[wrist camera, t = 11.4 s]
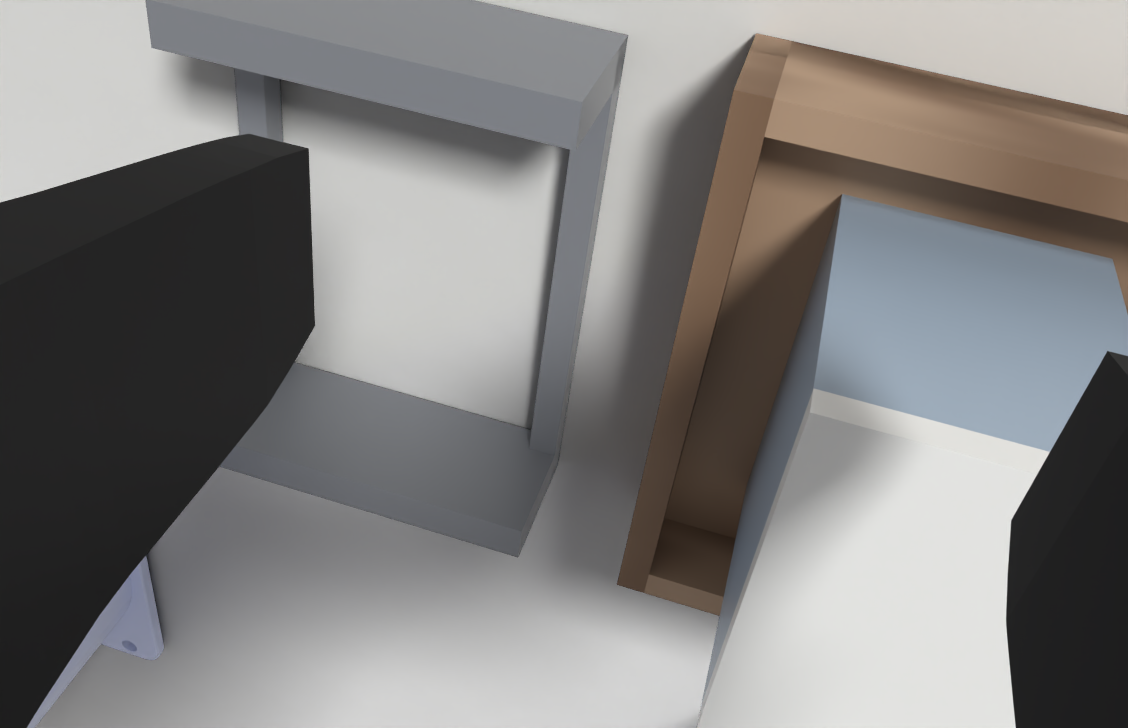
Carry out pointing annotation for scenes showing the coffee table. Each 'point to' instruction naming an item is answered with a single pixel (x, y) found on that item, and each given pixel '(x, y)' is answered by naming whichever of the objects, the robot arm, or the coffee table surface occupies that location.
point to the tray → (797, 240)
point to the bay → (457, 93)
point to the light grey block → (903, 474)
